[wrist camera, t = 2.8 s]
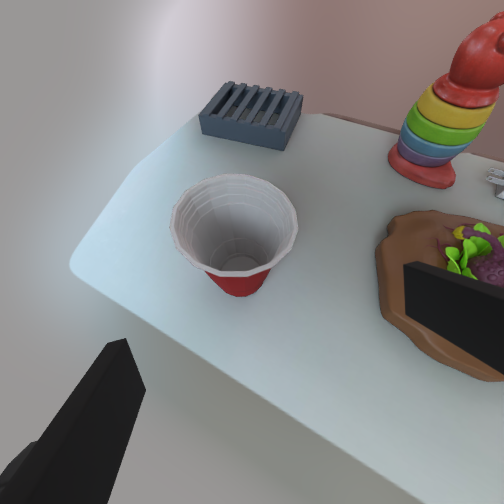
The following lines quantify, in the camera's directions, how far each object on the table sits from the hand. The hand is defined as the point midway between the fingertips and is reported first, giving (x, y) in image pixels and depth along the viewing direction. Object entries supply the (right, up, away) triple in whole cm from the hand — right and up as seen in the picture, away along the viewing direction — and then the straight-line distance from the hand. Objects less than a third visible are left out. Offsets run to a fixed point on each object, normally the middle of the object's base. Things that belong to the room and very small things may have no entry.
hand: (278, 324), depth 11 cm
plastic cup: (-2, 0, +19) cm, 20 cm away
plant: (+24, -1, +18) cm, 30 cm away
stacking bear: (+26, +18, +29) cm, 43 cm away
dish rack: (-1, +28, +36) cm, 46 cm away
